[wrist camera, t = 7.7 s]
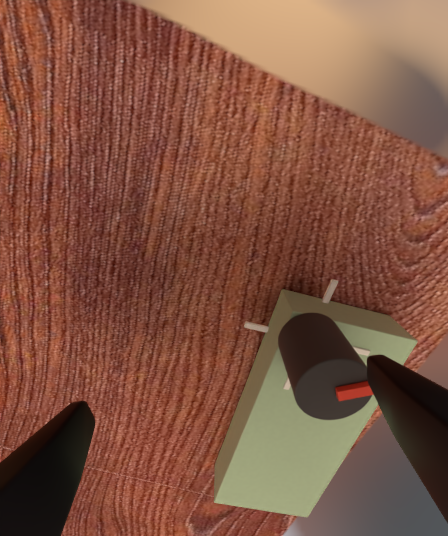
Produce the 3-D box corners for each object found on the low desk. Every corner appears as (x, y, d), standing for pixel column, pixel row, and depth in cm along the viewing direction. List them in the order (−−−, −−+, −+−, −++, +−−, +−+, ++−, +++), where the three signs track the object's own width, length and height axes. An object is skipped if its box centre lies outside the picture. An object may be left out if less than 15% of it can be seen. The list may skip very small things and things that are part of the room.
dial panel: (258, 246, 17) (266, 262, 14) (406, 284, 18) (442, 308, 15) (188, 459, 24) (183, 500, 21) (298, 478, 25) (308, 520, 22)
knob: (283, 368, 17) (302, 433, 13) (272, 319, 15) (290, 374, 11) (341, 356, 16) (381, 418, 12) (335, 305, 15) (376, 356, 11)
